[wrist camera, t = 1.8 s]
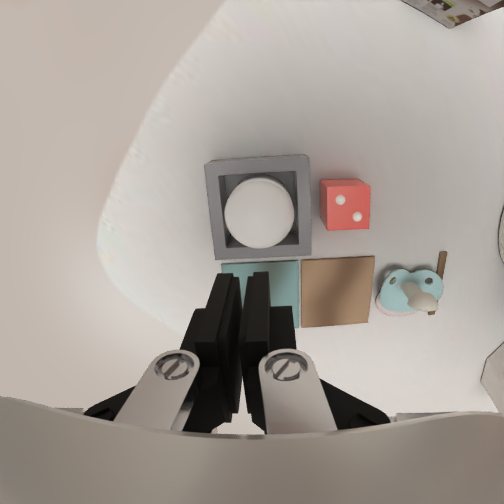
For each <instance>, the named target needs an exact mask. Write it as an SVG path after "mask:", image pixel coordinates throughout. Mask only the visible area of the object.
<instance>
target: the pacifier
mask: <svg viewBox="0 0 504 504" xmlns="http://www.w3.org/2000/svg"><path fill="white" fill-rule="evenodd" d="M393 277H395V278H394V279H393V280H392V281H391V283H390V280H391V279H392V278H393ZM427 278H432V282H431V283H429V284H427V283H425V280H426V279H427ZM442 292H443V282H442V280H441V278H440V277H439V276H438V275H437V274H436V273H435V272H433V271H431V270H418V271H416V272H414V273H409V272H408V271H407V270H405V269H396V270H394V271H392V272H391V273H390V274H389V275H388V276H387V277H386V278H385V280H384V282H383V284H382V286H381V289H380V293H379V294H378V296H377V298H376V306H377V308H378V309H379V310H380V311H381V312H383V313H384V314H386V315H390V316H406V315H410V314H413V313H415V312H417V311H418V310H420V311H435V310H437V309H438V302H437V300H438V299H439V298H440V297H441V295H442Z"/></svg>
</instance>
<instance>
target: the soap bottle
mask: <svg viewBox="0 0 504 504" xmlns="http://www.w3.org/2000/svg"><path fill="white" fill-rule="evenodd" d="M481 383H482V384H483V386H484V388H485V389H486V391H487V392H488V394H489V396H490V397H491V399H492V401H493V402H494V404H495V406H496V408H497V409H498V411H499V413H500V414H504V343H503V344H502V345H501V346H500V347H499V348H498V349H497V350H496V351H495V352H494V353H493V354H492V355H491V356H489V357H488V358H487V360H486V364H485V368H484V372H483V376H482V379H481Z"/></svg>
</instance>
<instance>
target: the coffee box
mask: <svg viewBox="0 0 504 504" xmlns="http://www.w3.org/2000/svg"><path fill="white" fill-rule="evenodd" d="M402 1H404V2H406V3H408V4H410V5H411V6H413V7H415V8H417V9H419V10H420V11H422V12H424V13H425V14H427V15H429V16H430V17H432V18H434V19H435V20H437V21H438V22H440V23H442V24H443V25H445V26H446V27H448V28H453V27H455V26H457V25H460V24H462V23H464V22H466V21H469V20H471V19H474V18H476V17H479V16H481V15H483V14H486V13H488V12H491V11H493V10H496V9H499V8H501V7H504V0H402Z"/></svg>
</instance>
